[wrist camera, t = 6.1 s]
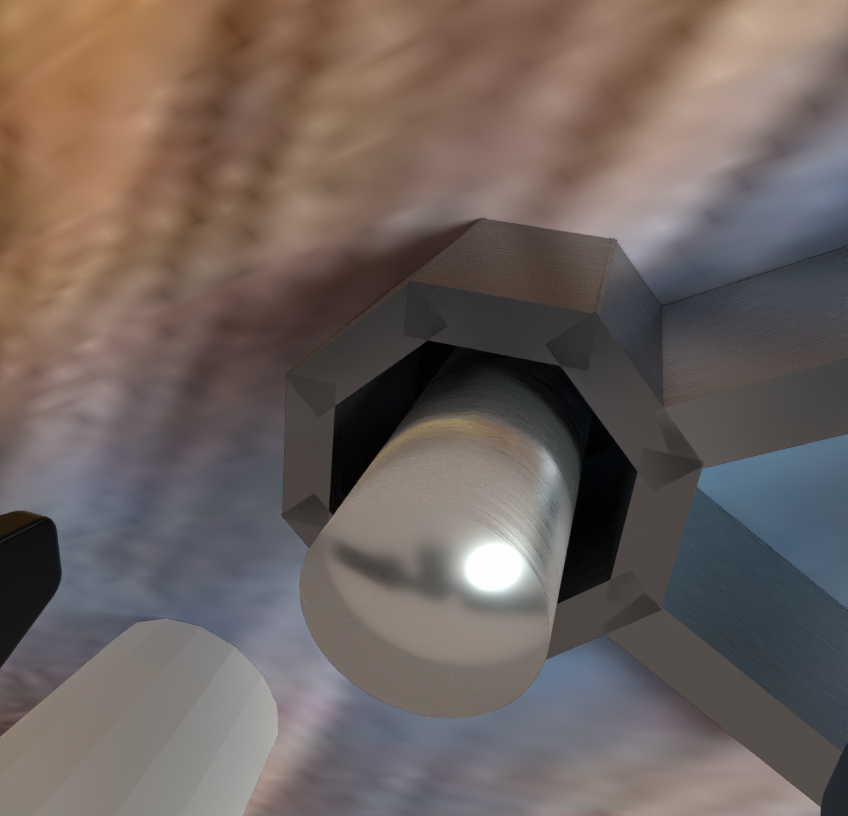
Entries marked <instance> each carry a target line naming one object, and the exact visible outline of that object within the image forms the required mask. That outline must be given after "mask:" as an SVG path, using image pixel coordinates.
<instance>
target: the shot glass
mask: <svg viewBox="0 0 848 816" xmlns="http://www.w3.org/2000/svg"><path fill="white" fill-rule="evenodd" d="M277 736H278V709H277V704H276V702H275V700H274V698H273V696H272V693H271V691H270V689H269V687H268V685H267V683H266V681H265V679H264V677H263V675H262V674H261V673H260V672H259V671H258V669H257V668H256V667H255V666H254V665H253V664H252V663H251V662H250V661H249V660H248V659H247V658H246V657H245V656H244V655H243V654H242V653H241V652H240V651H239V650H238V648H237V647H235V646H234V645H232V644H230V643H229V642H227V641H225V640H224V639H222V638H220V637H218V636H217V635H215V634H213V633H212V632H210V631H208V630H207V629H205V628H203V627H201V626H197V625H193V624H189V623H185V622H180V621H176V620H172V619H168V618H164V619H157V620H149V621H142V622H136V623H135V624H133V625H132V626H131V627H129V628H128V629H127V630H125V631H124V632H123V633H121V634H120V635H119V636H117V637H116V638H115V639H114V640H112V641H111V642H110V643H109V644H108V645H107V646H105V647H104V648H103V649H102V650H101V651H100V652H98V653H97V654H96V655H95V656H94V657H93V658H91V659H90V660H89V661H88V662H87V663H86V664H84V665H83V666H82V667H81V668H80V669H79V670H77V671H76V672H75V673H74V674H73V675H72V676H70V677H69V678H68V679H67V680H66V681H65V682H64V683H62V684H61V685H60V686H59V687H58V688H57V689H55V690H54V691H53V692H52V693H51V694H50V695H48V696H47V697H46V698H45V699H44V700H43V701H41V702H40V703H39V704H38V705H37V706H36V707H34V708H33V709H32V710H31V711H30V712H29V713H27V714H26V715H25V716H24V717H23V718H22V719H20V720H19V721H18V722H17V723H16V724H15V725H13V726H12V727H11V728H10V729H9V730H8V731H7V732H5V733H4V734H3V735H2V736H1V737H0V816H243V813H244V811H245V809H246V807H247V804H248V802H249V800H250V797H251V795H252V793H253V791H254V788H255V786H256V784H257V782H258V779H259V777H260V775H261V773H262V770H263V768H264V766H265V763H266V761H267V759H268V757H269V754H270V752H271V750H272V748H273V745H274V743H275V741H276V739H277Z"/></svg>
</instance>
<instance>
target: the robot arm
mask: <svg viewBox="0 0 848 816" xmlns="http://www.w3.org/2000/svg"><path fill="white" fill-rule="evenodd" d="M61 575H62V570H61V561H60V553H59V544H58V536H57V529H56V525H55V524H54V522H53V521H52V520H51V519H50V518H48V517H46V516H42V515H38V514H35V513H31V512H27V511H14V512H11V513H7V514H3V515H0V668H1V667H2V665H3V664H4V663H5V661H6V660H7V659H8V657H9V656H10V654H11V653H12V652H13V650H14V649H15V648H16V646H17V645H18V644H19V642H20V641H21V640H22V638H23V637H24V635H25V634H26V633H27V631H28V630H29V629H30V627H31V626H32V625H33V623H34V622H35V620H36V619H37V618H38V616H39V615H40V614H41V612H42V611H43V610H44V608H45V607H46V605H47V604H48V603H49V601H50V600H51V599H52V597H53V596H54V594H55V593H56V591H57V589H58V587H59V584H60V581H61ZM820 815H821V816H848V742H847V744H846V745H845V747H844V749H843V752H842V754H841V756H840V758H839V760H838V762H837V765H836V767H835V769H834V771H833V773H832V775H831V777H830V780H829V782H828V784H827V786H826V788H825V791H824V793H823V797H822V802H821V813H820Z"/></svg>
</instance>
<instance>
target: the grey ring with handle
mask: <svg viewBox="0 0 848 816" xmlns="http://www.w3.org/2000/svg"><path fill="white" fill-rule="evenodd" d="M428 340H429V341H434V342H440V343H445V344H450V345H455V346H460V347H465V348H471V349H476V350H481V351H486V352H491V353H496V354H502V355H507V356H512V357H517V358H522V359H527V360H533V361H538V362H543V363H548V364H553V365H558V366H561V367H562V369H563V370H564V371H565V373H566V374H567V376H568V377H569V378H570V380H571V381H572V382H573V384H574V385H575V386H576V388H577V389H578V391H579V392H580V393H581V395H582V396H583V397H584V399H585V400H586V402H587V403H588V404H589V406H590V407H591V408H592V410H593V411H594V412H595V414H596V415H597V417H598V418H599V419H600V421H601V422H602V423H603V425H604V426H605V427H606V429H607V430H608V432H609V433H610V434H611V436H612V437H613V438H614V440H615V441H616V443H615V444H613V445H611V446H609V447H608V448H606V449H604V450H602V451H600V452H598V453H597V454H595V455H593V456H591V457H589V458H588V459H586V460H584V462H583V468H582V473H581V478H580V484H579V489H578V494H577V499H576V505H575V510H574V515H573V521H572V526H571V531H570V537H569V542H568V547H567V553H566V558H565V563H564V569H563V574H562V579H561V584H560V590H559V595H558V600H557V606H556V611H555V616H554V622H553V627H552V632H551V638H550V643H549V648H548V652H547V656H546V659H549V658H551V657H553V656H556V655H558V654H560V653H563V652H565V651H567V650H570V649H572V648H574V647H577V646H579V645H581V644H584V643H586V642H588V641H591V640H593V639H595V638H598V637H600V636H602V635H606V636H607V637H608V638H610V639H611V640H612V641H613V642H615V643H616V644H617V645H618V646H620V647H621V648H622V649H623V650H625V651H626V652H627V653H628V654H630V655H631V656H632V657H633V658H635V659H636V660H637V661H638V662H640V663H641V664H642V665H643V666H645V667H646V668H647V669H649V670H650V671H651V672H652V673H654V674H655V675H656V676H657V677H659V678H660V679H661V680H662V681H664V682H665V683H666V684H667V685H669V686H670V687H671V688H672V689H674V690H675V691H676V692H677V693H679V694H680V695H681V696H682V697H684V698H685V699H686V700H687V701H689V702H690V703H691V704H692V705H694V706H695V707H696V708H697V709H699V710H700V711H701V712H702V713H704V714H705V715H706V716H707V717H709V718H710V719H711V720H712V721H714V722H715V723H716V724H717V725H719V726H720V727H721V728H722V729H724V730H725V731H726V732H727V733H729V734H730V735H731V736H732V737H734V738H735V739H736V740H737V741H739V742H740V743H741V744H742V745H744V746H745V747H746V748H747V749H749V750H750V751H751V752H752V753H754V754H755V755H756V756H757V757H759V758H760V759H761V760H762V761H764V762H765V763H766V764H767V765H769V766H770V767H771V768H772V769H774V770H775V771H776V772H777V773H779V774H780V775H781V776H782V777H784V778H785V779H786V780H787V781H789V782H790V783H791V784H792V785H794V786H795V787H796V788H797V789H799V790H800V791H801V792H802V793H804V794H805V795H806V796H808V797H809V798H810V799H811V800H813V801H814V802H815V803H816V804H818V805H819V806H820V807H821V802H822V797H823V793H824V791H825V788H826V786H827V784H828V782H829V780H830V777H831V775H832V773H833V771H834V769H835V767H836V765H837V762H838V760H839V758H840V756H841V754H842V752H843V749H844V747H845V745H846V744H847V742H848V610H847V609H845V608H844V607H843V606H842V605H841V604H839V603H838V602H837V601H836V600H834V599H833V598H832V597H831V596H829V595H828V594H827V593H826V592H825V591H823V590H822V589H821V588H820V587H818V586H817V585H816V584H815V583H813V582H812V581H811V580H810V579H809V578H807V577H806V576H805V575H804V574H802V573H801V572H800V571H799V570H797V569H796V568H795V567H794V566H793V565H791V564H790V563H789V562H788V561H786V560H785V559H784V558H783V557H781V556H780V555H779V554H778V553H777V552H775V551H774V550H773V549H772V548H770V547H769V546H768V545H767V544H765V543H764V542H763V541H762V540H761V539H759V538H758V537H757V536H756V535H754V534H753V533H752V532H751V531H749V530H748V529H747V528H746V527H745V526H743V525H742V524H741V523H740V522H738V521H737V520H736V519H735V518H734V517H732V516H731V515H730V514H729V513H727V512H726V511H725V510H724V509H722V508H721V507H720V506H719V505H718V504H716V503H715V502H714V501H713V500H711V499H710V498H709V497H708V496H706V495H705V494H704V493H703V492H702V491H700V490H699V489H698V488H697V487H696V486H697V483H698V480H699V476H700V473H701V469H702V468H706V467H711V466H715V465H719V464H723V463H727V462H732V461H736V460H740V459H744V458H748V457H752V456H757V455H761V454H765V453H769V452H773V451H778V450H782V449H786V448H790V447H794V446H798V445H803V444H807V443H811V442H815V441H819V440H824V439H828V438H832V437H836V436H840V435H844V434H848V246H847V247H844V248H841V249H837V250H834V251H831V252H828V253H825V254H822V255H819V256H816V257H813V258H810V259H807V260H804V261H800V262H797V263H794V264H791V265H788V266H785V267H782V268H779V269H776V270H773V271H770V272H767V273H763V274H760V275H757V276H754V277H751V278H748V279H745V280H742V281H739V282H736V283H733V284H730V285H727V286H723V287H720V288H717V289H714V290H711V291H708V292H705V293H702V294H699V295H696V296H693V297H690V298H686V299H683V300H680V301H677V302H674V303H671V304H668V305H665V306H661V305H660V303H659V302H658V300H657V299H656V298H655V296H654V295H653V293H652V292H651V290H650V289H649V288H648V286H647V285H646V283H645V282H644V280H643V279H642V277H641V276H640V275H639V273H638V272H637V270H636V269H635V267H634V266H633V265H632V263H631V262H630V260H629V259H628V257H627V256H626V254H625V253H624V252H623V250H622V249H621V247H620V246H619V244H618V243H617V240H615V239H614V238H613V239H608V238H602V237H596V236H589V235H583V234H577V233H570V232H564V231H558V230H552V229H545V228H539V227H533V226H526V225H520V224H514V223H507V222H501V221H495V220H488V219H486V218H484V219H480V220H479V221H478V222H477V223H476V224H475V225H473V226H472V227H471V228H470V229H469V230H467V231H466V232H465V233H464V234H463V235H462V236H460V237H459V238H458V239H456V240H455V241H454V242H453V243H451V244H450V245H449V246H447V247H446V248H445V249H443V250H442V251H441V252H439V253H438V254H437V255H436V256H434V257H433V258H432V259H430V260H429V261H428V262H426V263H425V264H424V265H422V266H421V267H420V268H419V269H417V270H416V271H415V272H413V273H412V274H411V275H409V276H408V277H407V278H405V279H404V280H403V281H402V282H400V283H399V284H398V285H396V286H395V287H394V288H392V289H391V290H388V291H387V292H385V293H384V294H383V295H382V296H380V297H379V298H378V299H377V300H376V301H374V302H373V303H372V304H371V305H369V306H368V307H367V308H366V309H365V310H363V311H362V312H361V313H360V314H358V315H357V316H356V317H355V318H354V319H352V320H351V321H350V322H349V323H347V324H346V325H345V326H344V327H343V328H341V329H340V330H339V331H338V332H336V333H335V334H334V335H333V336H332V337H330V338H329V339H328V340H327V341H325V342H324V343H323V344H322V345H321V346H319V347H318V348H317V349H316V350H314V351H313V352H312V353H311V354H310V355H308V356H307V357H306V358H305V359H303V360H302V361H301V362H300V363H299V364H297V365H296V366H295V367H294V368H292V369H291V370H290V371H289V372H288V373H287V375H286V376H285V377H286V411H285V445H284V478H283V512H282V514H281V515H282V518H284V519H285V520H286V521H287V522H288V524H289V525H290V526H291V527H292V528H293V530H294V531H295V532H296V533H297V534H298V536H299V537H300V538H301V539H302V540H303V542H304V543H305V544H306V545H307V546H308V548H309V549H310V547H311V545H312V544H313V543H314V541H315V540H316V538H317V537H318V536H319V534H320V533H321V531H322V530H323V529H324V527H325V526H326V525H327V523H328V522H329V520H330V519H331V518H332V516H333V515H334V514H335V512H336V511H337V509H338V508H339V507H340V505H341V504H342V503H343V501H344V500H345V499H346V497H347V496H348V494H349V493H350V492H351V490H352V489H353V488H354V486H355V485H356V483H357V482H358V481H359V479H360V478H361V477H362V475H363V474H364V472H365V471H366V470H367V468H368V467H369V466H370V464H371V463H372V461H373V460H374V459H375V457H376V456H377V455H378V453H379V452H380V450H381V449H382V448H383V446H384V445H385V444H386V442H387V441H388V440H389V438H390V437H391V435H392V434H393V433H394V431H395V430H396V429H397V427H398V426H399V424H400V423H401V422H402V420H403V419H404V418H405V416H406V415H407V413H408V412H409V411H410V409H411V408H412V407H413V405H414V404H415V402H416V401H417V400H418V399H417V397H416V396H415V389H416V379H417V370H418V361H419V351H420V346H421V345H422V344H424V343H425V342H426V341H428ZM546 659H545V660H546Z"/></svg>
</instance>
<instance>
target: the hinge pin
mask: <svg viewBox="0 0 848 816" xmlns="http://www.w3.org/2000/svg"><path fill="white" fill-rule="evenodd" d="M592 415H593V410H592V408H591V407H590V406H589V404H588V403H587V402H586V400H585V399H584V397H583V396H582V395H581V393H580V392H579V391H578V389H577V388H576V386H575V385H574V384H573V382H572V381H571V380H570V378H569V377H568V376H567V374H566V373H565V371H564V370H563V369H562V367H561V366H558V365H553V364H548V363H543V362H538V361H533V360H527V359H522V358H517V357H512V356H507V355H502V354H496V353H491V352H486V351H481V350H476V349H471V348H465V347H460V346H456V348H455V349H454V350H453V352H452V353H451V354H450V356H449V357H448V359H447V360H446V361H445V363H444V364H443V365H442V367H441V368H440V370H439V371H438V372H437V374H436V375H435V376H434V378H433V379H432V381H431V382H430V383H429V385H428V386H427V387H426V389H425V390H424V392H423V393H422V394H421V396H420V397H419V398H418V400H417V401H416V402H415V404H414V405H413V407H412V408H411V409H410V411H409V412H408V413H407V415H406V416H405V418H404V419H403V420H402V422H401V423H400V424H399V426H398V427H397V429H396V430H395V431H394V433H393V434H392V435H391V437H390V438H389V440H388V441H387V442H386V444H385V445H384V446H383V448H382V449H381V450H380V452H379V453H378V455H377V456H376V457H375V459H374V460H373V461H372V463H371V464H370V466H369V467H368V468H367V470H366V471H365V472H364V474H363V475H362V477H361V478H360V479H359V481H358V482H357V483H356V485H355V486H354V488H353V489H352V490H351V492H350V493H349V494H348V496H347V497H346V499H345V500H344V501H343V503H342V504H341V505H340V507H339V508H338V509H337V511H336V512H335V514H334V515H333V516H332V518H331V519H330V520H329V522H328V523H327V525H326V526H325V527H324V529H323V530H322V531H321V533H320V534H319V536H318V537H317V538H316V540H315V541H314V543H313V544H312V545H311V547H310V549H309V551H308V553H307V555H306V557H305V560H304V563H303V567H302V570H301V577H300V600H301V605H302V611H303V614H304V617H305V620H306V624H307V626H308V628H309V630H310V632H311V635H312V637H313V638H314V640H315V642H316V643H317V645H318V647H319V648H320V650H321V651H322V652H323V654H324V655H325V656H326V658H327V659H328V660H329V662H330V663H331V664H332V665H333V666H334V667H335V668H336V669H337V670H338V671H339V672H340V673H341V674H342V675H343V676H344V677H346V678H347V679H348V680H349V681H350V682H351V683H353V684H354V685H356V686H357V687H358V688H360V689H361V690H363V691H364V692H366V693H367V694H369V695H371V696H373V697H374V698H376V699H378V700H380V701H382V702H384V703H386V704H389V705H391V706H393V707H396V708H399V709H402V710H405V711H408V712H412V713H416V714H420V715H425V716H432V717H442V718H459V717H470V716H475V715H480V714H484V713H487V712H490V711H493V710H496V709H498V708H500V707H502V706H504V705H506V704H508V703H510V702H511V701H513V700H514V699H516V698H517V697H519V696H520V695H521V694H522V693H523V692H524V691H525V690H526V689H528V688H529V687H530V685H531V684H532V683H533V681H534V680H535V679H536V677H537V676H538V674H539V672H540V670H541V669H542V667H543V665H544V662H545V659H546V656H547V652H548V648H549V643H550V638H551V632H552V627H553V622H554V616H555V611H556V606H557V600H558V595H559V590H560V584H561V579H562V574H563V569H564V563H565V558H566V553H567V547H568V542H569V537H570V531H571V526H572V521H573V515H574V510H575V505H576V499H577V494H578V489H579V484H580V478H581V473H582V468H583V462H584V457H585V452H586V446H587V441H588V436H589V430H590V425H591V420H592Z"/></svg>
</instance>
